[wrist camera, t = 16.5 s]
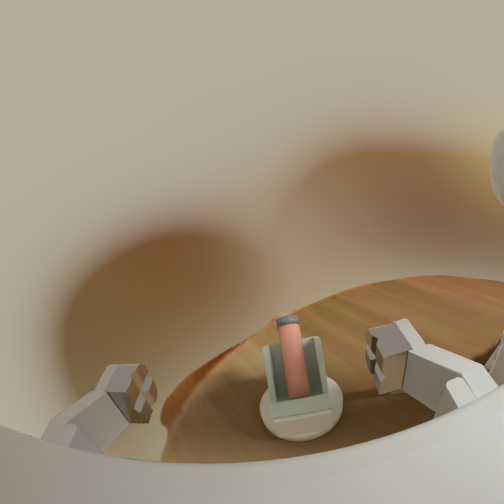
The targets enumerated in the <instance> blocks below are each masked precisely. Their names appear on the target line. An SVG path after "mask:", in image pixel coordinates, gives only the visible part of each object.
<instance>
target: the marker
mask: <svg viewBox="0 0 504 504" xmlns="http://www.w3.org/2000/svg"><path fill="white" fill-rule="evenodd" d="M276 323H277V328H278V333H279V339H280V346H281V352H282V358H283V365H284V371H285V377H286V384H287V390H288V397H289V399H292V398H299V397H304V396H309V395H311V392H310V386H309V380H308V374H307V368H306V362H305V356H304V350H303V344H302V339H301V333H300V328H299V320H298V316H285V317H281V318H279V319H277V320H276Z"/></svg>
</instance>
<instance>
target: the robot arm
mask: <svg viewBox="0 0 504 504" xmlns="http://www.w3.org/2000/svg"><path fill="white" fill-rule="evenodd" d="M489 171H490V177H491V182H492V186H493V189H494V191H495V194H496V196H497V198H498V199H499V201H500V203H501V204H502V205H503V207H504V129H502V130H501V131H500V132H499V134H498V135H497V137H496V138H495V140H494V142H493V145H492V148H491V152H490V158H489ZM366 340H367V343H368V346H367V347H366V362H367V366H368V369H369V371H370V373H372V374H373V375H374V383H375V386H376V388H377V391H378V393H379V395H380V394H384V393H388V392H391V391H395V390H398V389H402V390H403V391H405V392H406V393H408V394H409V395H411V396H412V397H413V398H415V399H416V400H418V401H419V402H421V403H422V404H424V405H425V406H427V407H428V408H430V409H431V410H433V411H434V412H436V413H435V416H434V418H433V419H432V420H430V421H427V422H425V423H422V424H419V425H417V426H414V427H411V428H409V429H406V430H403V431H400V432H397V433H394V434H391V435H388V436H385V437H381V438H378V439H375V440H371V441H368V442H364V443H360V444H356V445H352V446H348V447H344V448H340V449H335V450H331V451H326V452H321V453H315V454H310V455H304V456H298V457H291V458H284V459H276V460H266V461H256V462H241V463H211V464H201V463H171V462H157V461H146V460H137V459H128V458H121V457H115V456H108V455H105V454H103V452H104V451H105V450H106V449H107V448H108V447H109V446H110V445H111V444H112V442H114V440H115V439H116V438H117V437H118V436H119V435H120V434H121V433H122V432H123V431H124V430H125V429H126V428H127V427H128V426H129V425H130V423H149V420H150V417H151V414H152V409H151V406H152V405H153V404H154V403H155V402H156V398H157V388H156V385H155V383H154V381H153V379H151V378H150V377H148V376H147V373H148V370H147V369H146V367H145V366H144V365H142V364H120V365H118V364H115V365H113V364H112V365H109V366H107V368H106V370H105V371H104V373H103V375H102V377H101V379H100V380H99V382H98V384H97V386H96V388H95V390H94V391H93V392H89V393H88V394H86V395H85V396H84V397H82V398H81V399H79V400H78V401H77V402H75V403H74V404H72V405H71V406H70V407H68V408H67V409H65V410H64V411H63V412H61V413H60V414H58V415H57V416H55V417H54V418H53V419H52V420H51V421H50V423H49V425H48V427H47V428H46V430H45V432H44V434H43V436H42V438H41V439H38V438H35V437H32V436H29V435H26V434H23V433H20V432H18V431H15V430H12V429H10V428H7V427H4V426H2V425H0V504H504V332H503V334H502V337H501V341H500V343H499V345H498V347H497V348H496V350H495V351H494V353H493V354H492V355H491V357H490V358H489V360H488V361H487V363H486V364H485V365H484V366H483V365H482V364H479V363H477V362H474V361H472V360H469V359H466V358H464V357H461V356H459V355H456V354H454V353H451V352H449V351H446V350H444V349H441V348H439V347H436V346H434V345H431V344H427V345H426V344H425V343H424V341H423V340H422V339H421V337H420V336H419V334H418V333H417V332H416V330H415V329H414V327H413V326H412V325H411V323H410V322H409V321H408V319H406V318H405V319H401V320H398V321H395V322H393V323H389V324H386V325H382V326H378V327H375V328H371V329H367V330H366Z"/></svg>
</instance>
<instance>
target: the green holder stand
mask: <svg viewBox="0 0 504 504" xmlns="http://www.w3.org/2000/svg"><path fill="white" fill-rule="evenodd" d="M302 344H303V350H304V356H305V362H306V368H307V374H308V380H309V386H310V392H311V395H309V396H304V397H299V398H292V399H289V397H288V390H287V384H286V377H285V371H284V365H283V358H282V352H281V346H280V343H277V344H271V345H265V346H264V347H263V348H262V353H263V359H264V365H265V370H266V376H267V382H268V387H269V388H268V389H267V390H266V392H265V393H264V395H263V396H262V399H261V402H260V413H261V417H262V419H263V422H264V424H265V426H266V428H267V429H268V430H269V431H270V432H271V433H272V434H273V435H275V436H276V437H278V438H281V439H283V440H287V441H294V442H302V441H309V440H313V439H316V438H318V437H321V436H323V435H324V434H326V433H327V432H329V431H330V430H331V429H332V428H333V427H334V426H335V425H336V424H337V423H338V421H339V419H340V417H341V415H342V411H343V395H342V392H341V389H340V387H339V386H338V385H337V383H336V382H334V381H333V380H332V379H330V378H329V377H327V376H326V371H325V364H324V358H323V352H322V346H321V340H320V338H319V337H318V336H314V337H309V338H304V339H302Z"/></svg>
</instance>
